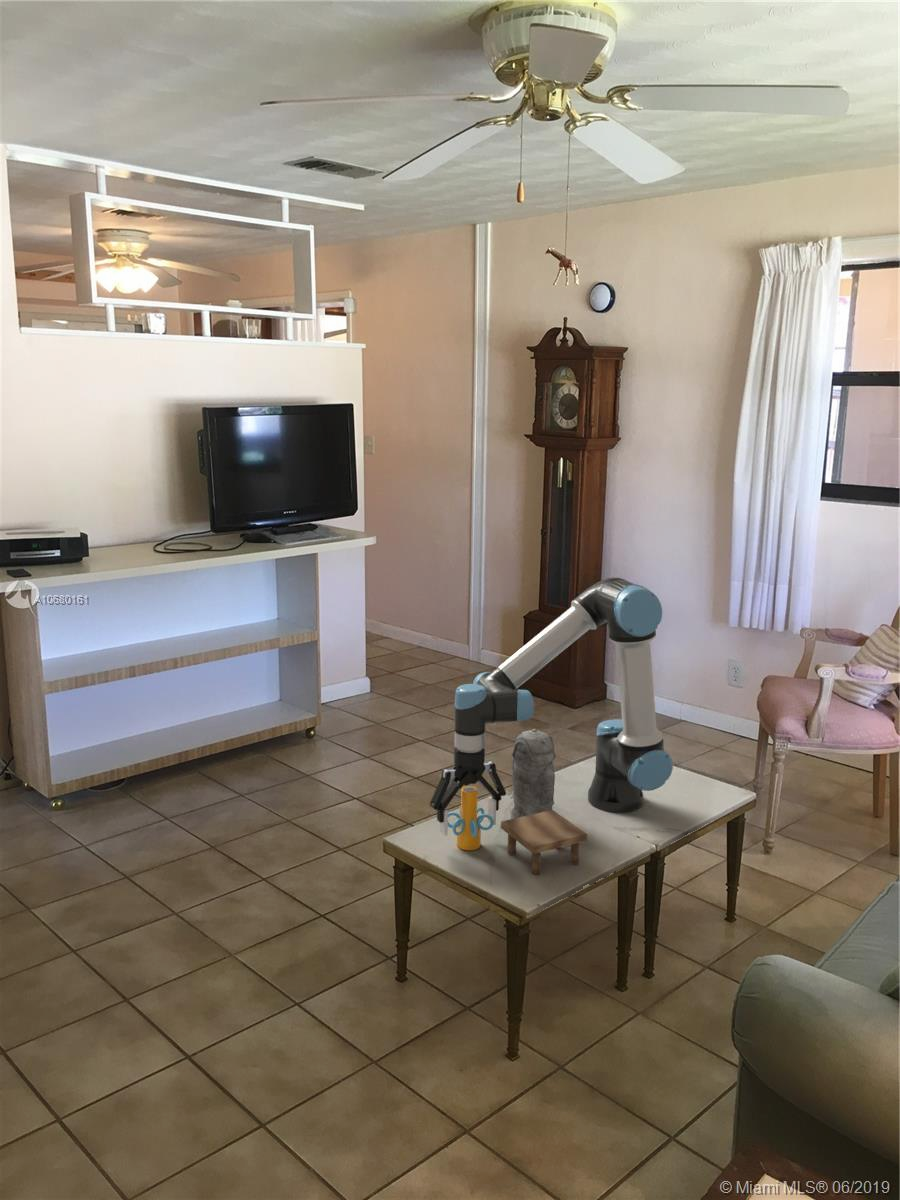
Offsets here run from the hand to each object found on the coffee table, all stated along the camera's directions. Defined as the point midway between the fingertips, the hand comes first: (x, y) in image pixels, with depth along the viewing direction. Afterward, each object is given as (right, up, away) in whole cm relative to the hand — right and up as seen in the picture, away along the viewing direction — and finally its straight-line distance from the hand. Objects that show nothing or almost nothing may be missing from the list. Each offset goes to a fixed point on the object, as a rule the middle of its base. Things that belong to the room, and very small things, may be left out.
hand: (467, 828), depth 239 cm
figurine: (+17, -2, +16) cm, 23 cm away
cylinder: (0, -5, +1) cm, 5 cm away
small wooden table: (+18, -6, -5) cm, 20 cm away
